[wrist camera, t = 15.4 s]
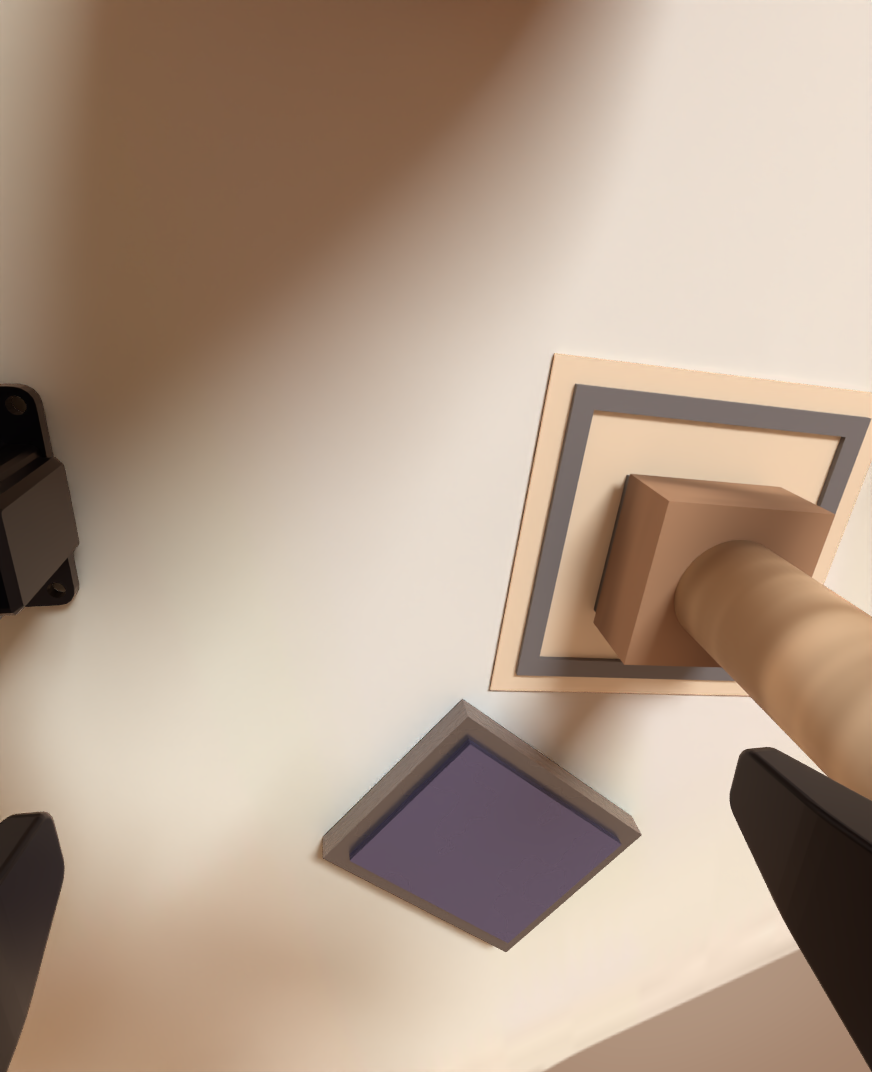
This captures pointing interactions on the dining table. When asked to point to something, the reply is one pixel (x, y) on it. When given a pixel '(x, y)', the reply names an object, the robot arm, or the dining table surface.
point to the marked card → (669, 451)
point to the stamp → (743, 608)
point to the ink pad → (480, 830)
